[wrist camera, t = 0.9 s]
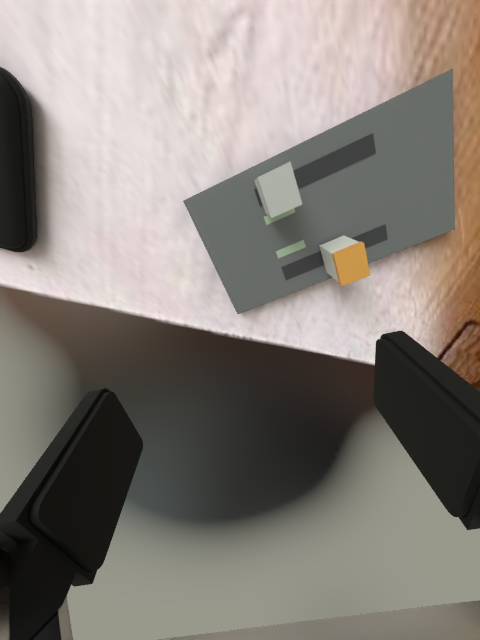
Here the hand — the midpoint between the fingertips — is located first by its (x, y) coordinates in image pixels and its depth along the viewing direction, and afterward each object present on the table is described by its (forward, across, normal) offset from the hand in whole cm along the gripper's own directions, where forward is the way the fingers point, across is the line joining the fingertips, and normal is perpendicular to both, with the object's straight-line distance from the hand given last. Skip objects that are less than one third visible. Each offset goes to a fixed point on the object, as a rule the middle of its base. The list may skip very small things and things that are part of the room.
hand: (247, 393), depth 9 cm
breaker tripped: (+19, -10, +1) cm, 21 cm away
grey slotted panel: (+21, -9, -3) cm, 23 cm away
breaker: (+19, -5, -6) cm, 20 cm away
